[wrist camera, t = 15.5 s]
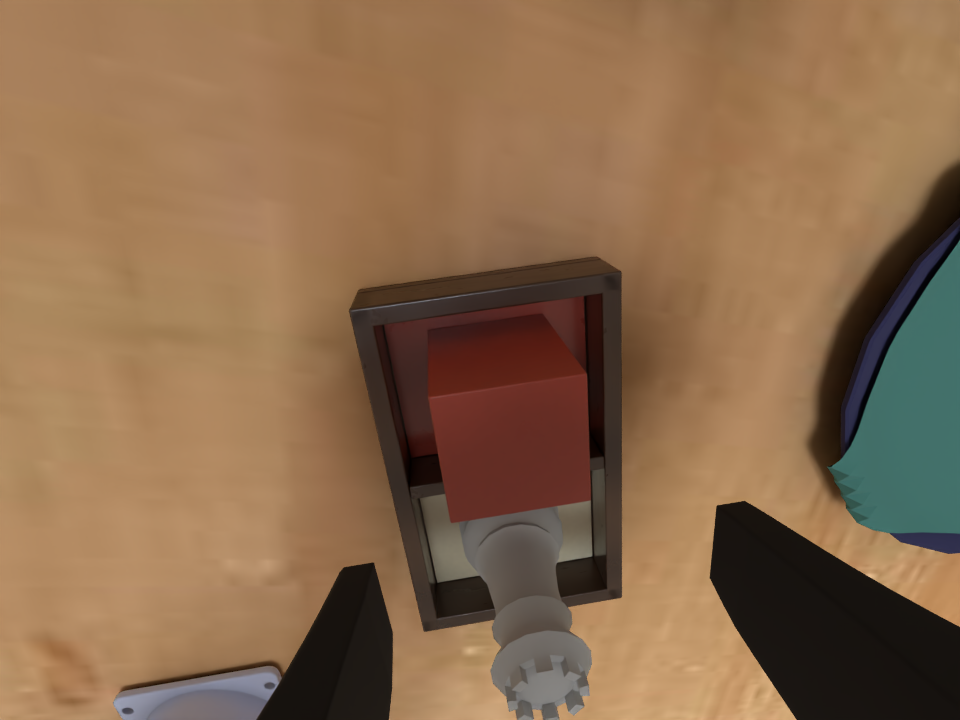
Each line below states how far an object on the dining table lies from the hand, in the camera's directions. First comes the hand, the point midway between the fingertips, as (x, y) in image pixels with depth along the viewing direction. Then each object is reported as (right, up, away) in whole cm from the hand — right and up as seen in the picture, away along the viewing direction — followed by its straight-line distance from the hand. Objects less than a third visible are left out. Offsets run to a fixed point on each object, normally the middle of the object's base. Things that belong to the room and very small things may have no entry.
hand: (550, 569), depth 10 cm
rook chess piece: (0, -3, +12) cm, 12 cm away
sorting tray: (-1, +1, +11) cm, 11 cm away
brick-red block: (-1, +4, +9) cm, 10 cm away
